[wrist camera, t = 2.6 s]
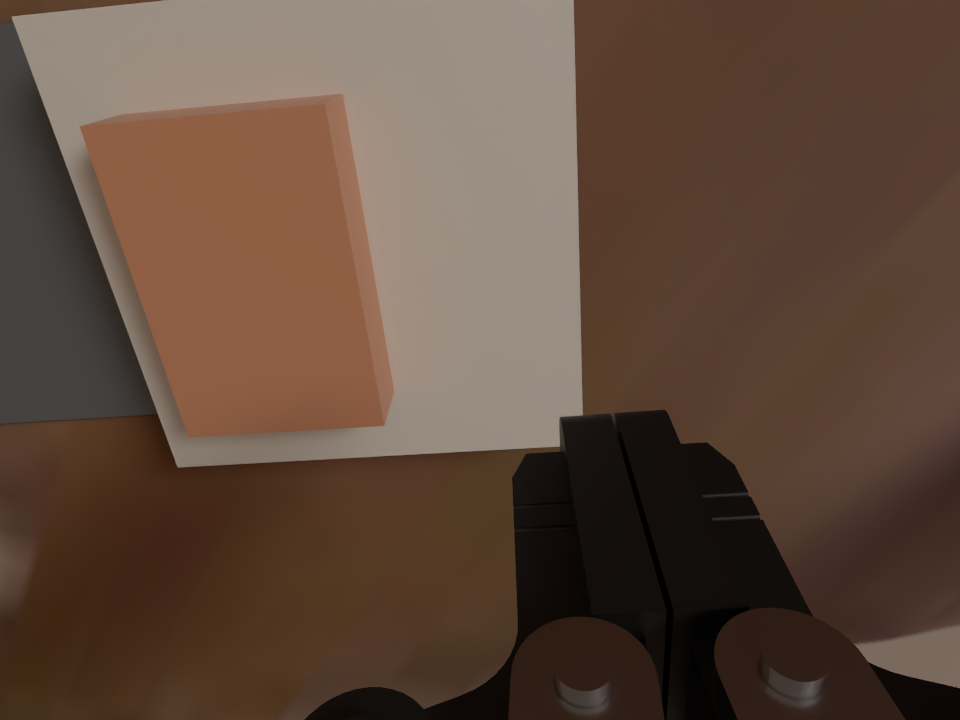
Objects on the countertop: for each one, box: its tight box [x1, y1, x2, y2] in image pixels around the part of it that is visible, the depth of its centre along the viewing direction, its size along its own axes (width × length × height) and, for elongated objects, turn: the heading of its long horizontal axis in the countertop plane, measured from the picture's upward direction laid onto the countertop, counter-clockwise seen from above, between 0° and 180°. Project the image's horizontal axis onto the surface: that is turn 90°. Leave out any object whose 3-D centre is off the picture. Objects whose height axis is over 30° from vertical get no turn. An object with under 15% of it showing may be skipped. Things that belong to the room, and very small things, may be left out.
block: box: [80, 94, 394, 437], centre depth 19 cm, size 6×9×2 cm, turn 5°
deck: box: [12, 0, 583, 467], centre depth 21 cm, size 14×14×4 cm
